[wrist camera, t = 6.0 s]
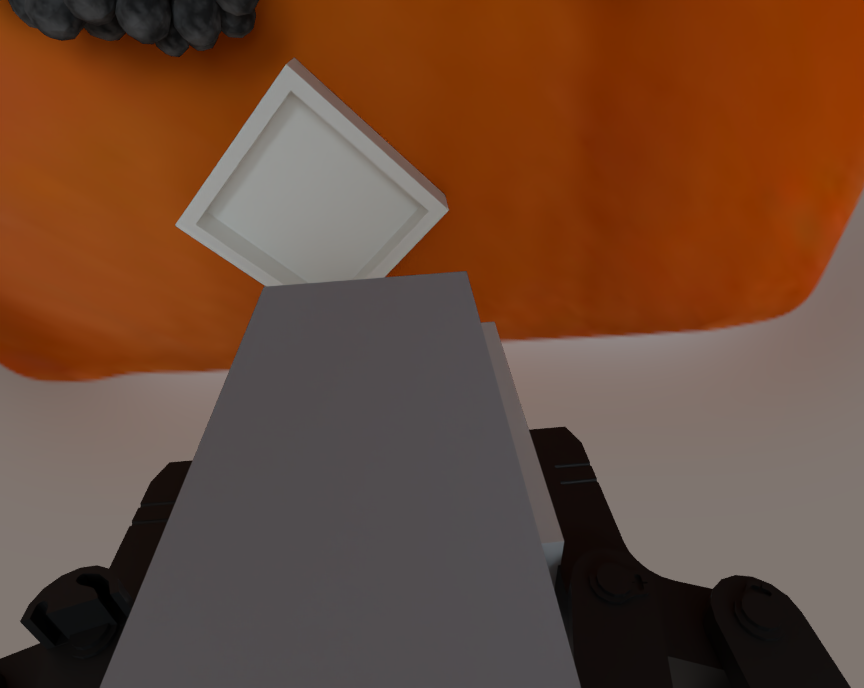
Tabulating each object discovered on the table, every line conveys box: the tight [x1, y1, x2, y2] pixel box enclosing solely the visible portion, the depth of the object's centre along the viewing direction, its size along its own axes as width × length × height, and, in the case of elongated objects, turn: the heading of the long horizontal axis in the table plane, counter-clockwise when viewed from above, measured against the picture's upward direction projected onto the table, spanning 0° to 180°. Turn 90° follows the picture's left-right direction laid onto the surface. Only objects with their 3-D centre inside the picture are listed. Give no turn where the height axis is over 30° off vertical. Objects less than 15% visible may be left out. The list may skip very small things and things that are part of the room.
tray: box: [175, 58, 449, 286], centre depth 30 cm, size 11×11×2 cm
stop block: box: [100, 271, 581, 688], centre depth 10 cm, size 5×5×10 cm
